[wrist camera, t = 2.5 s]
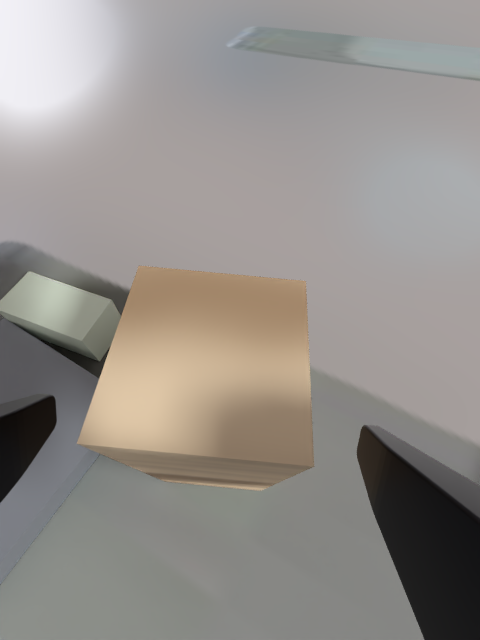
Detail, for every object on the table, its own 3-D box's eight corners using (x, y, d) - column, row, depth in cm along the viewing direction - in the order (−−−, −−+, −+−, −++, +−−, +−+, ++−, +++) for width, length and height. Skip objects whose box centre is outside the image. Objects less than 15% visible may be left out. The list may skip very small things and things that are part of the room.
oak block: (260, 490, 16) (314, 466, 6) (164, 481, 16) (76, 443, 6) (264, 396, 18) (305, 280, 9) (182, 388, 18) (138, 265, 9)
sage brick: (125, 325, 21) (111, 299, 18) (100, 362, 19) (81, 340, 17) (52, 299, 22) (29, 271, 19) (22, 332, 20) (-8, 307, 17)
